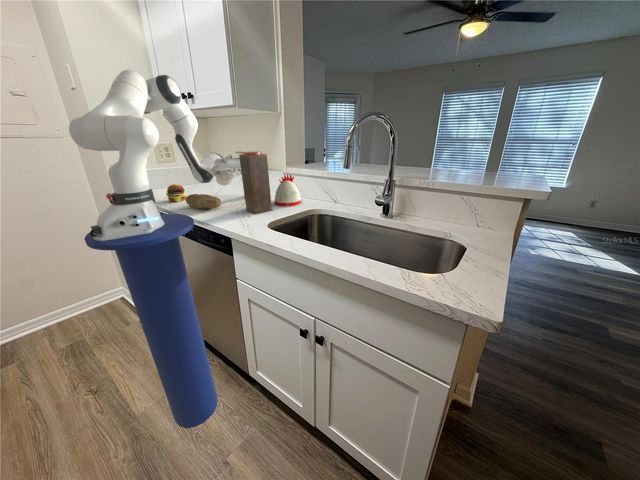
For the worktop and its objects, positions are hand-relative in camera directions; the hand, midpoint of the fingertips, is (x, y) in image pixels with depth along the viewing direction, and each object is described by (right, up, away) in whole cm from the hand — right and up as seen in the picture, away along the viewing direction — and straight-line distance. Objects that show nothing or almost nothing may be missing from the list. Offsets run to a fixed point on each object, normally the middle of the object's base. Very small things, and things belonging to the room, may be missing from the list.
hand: (239, 155), depth 127 cm
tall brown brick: (+9, -27, 0) cm, 28 cm away
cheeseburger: (-43, -19, +23) cm, 52 cm away
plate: (+5, -1, -6) cm, 8 cm away
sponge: (-20, -25, +6) cm, 32 cm away
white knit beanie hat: (+22, -21, +13) cm, 33 cm away
